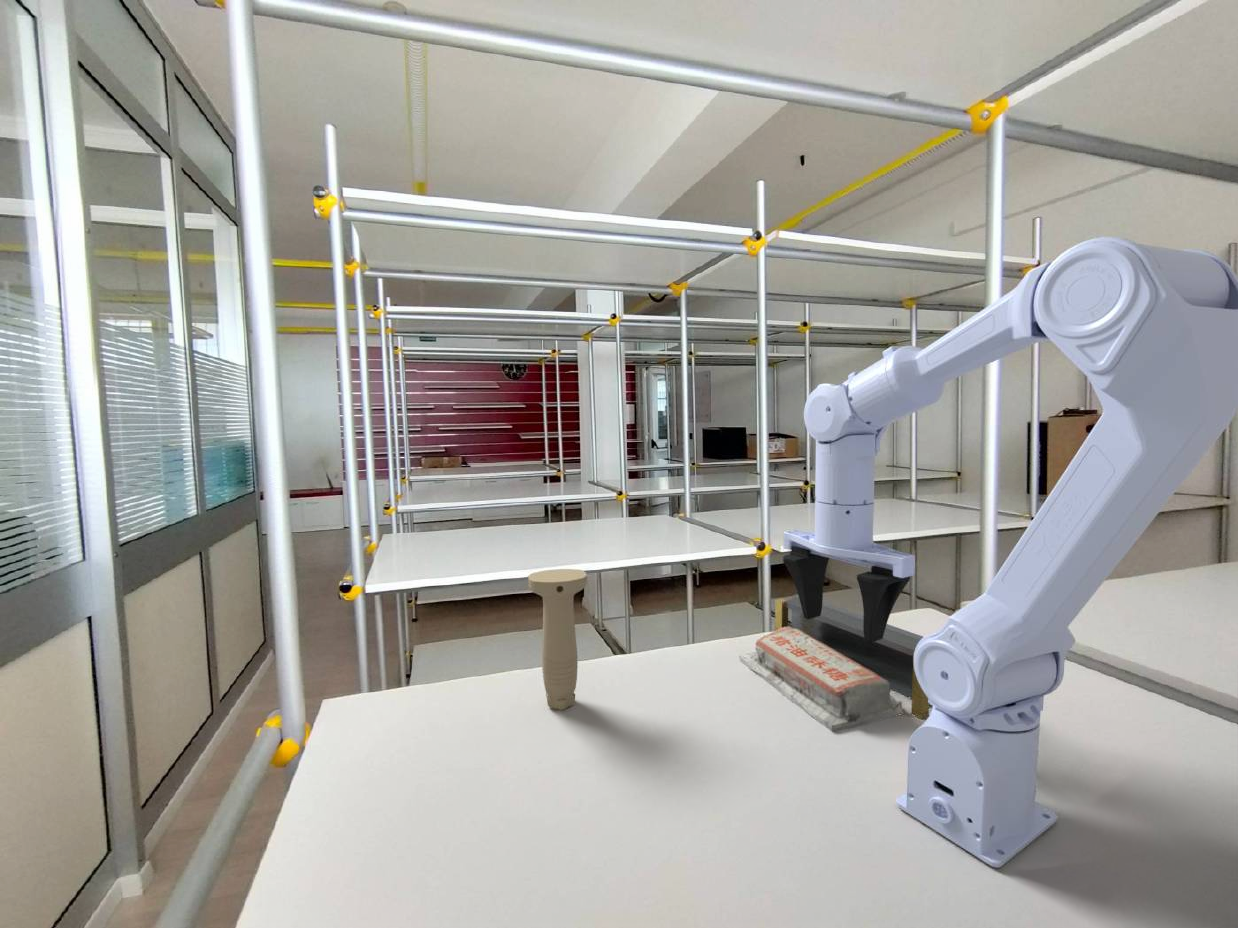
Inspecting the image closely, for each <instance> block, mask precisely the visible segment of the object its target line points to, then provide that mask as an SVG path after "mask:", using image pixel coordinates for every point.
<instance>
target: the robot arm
mask: <svg viewBox="0 0 1238 928" xmlns="http://www.w3.org/2000/svg"><path fill="white" fill-rule="evenodd" d="M1045 342H1046V343H1047V342H1052V343H1053V344H1054V345H1055V346H1056V347H1057V348H1058V349H1059V350H1060V351H1061V352H1062V353H1063V354H1064V355H1065V356H1066V357H1067V358H1068V359H1069V360H1070V361H1071V362H1072V363H1073V364H1074V365H1075V366H1076V367H1077V368H1078V369H1079V370H1080V371H1081V372H1082V373H1083V374H1084V375H1085V376H1086V377H1087V378H1088V380H1089V382H1090V383H1091V384H1090V385H1091V386H1092V388H1093V390H1094V392H1095V394H1096V396H1097V398H1098V400H1099V402H1100V405H1101V407H1102V414H1101V416H1100V417H1099V419H1098V420H1097V422H1096V423H1095V424H1094V425H1093V428H1092V429H1091V430H1090V432H1089V434H1088V435H1087V436H1086V438H1085V440H1084V441H1083V443H1082V445H1080V448H1079V449H1078V451H1077V452H1076V454H1075V455H1074V456H1073V458H1072V460H1071V461H1070V463H1068V465H1067V467H1066V469H1065V470H1064V472H1063V473H1062V475H1061V476H1060V478H1059V479H1058V481H1057V482H1056V484H1055V486H1054V487H1053V488H1052V490H1051V492H1050V493H1049V494H1048V496H1047V498H1046V499H1045V501H1044V502H1043V504H1042V505H1041V506H1040V508H1039V510H1038V511H1037V512H1036V514H1035V515H1034V517H1033V519H1032V520H1031V522H1030V523H1029V525H1028V526H1027V528H1026V530H1025V531H1024V532H1023V534H1022V536H1021V537H1020V539H1019V540H1018V542H1017V543H1016V544H1015V546H1014V548H1012V550H1011V552H1010V554H1008V555H1009V556H1008V557H1007V558H1006V560H1005V561H1004V563H1003V565H1002V566H1001V567H1000V568H999V570H998V572H997V573H996V575H995V576H994V577H993V579H992V581H991V583H990V584H989V586H988V587H987V588H986V590H985V592H983V594H981V595H980V596H978V597H977V598H975V599H974V600H973V601H971V602H969V603H967V604H966V605H964V606H963V607H961V608H960V609H959V610H957V611H956V612H954V613H953V614H951V615H950V616H949V618H948V619H947V620H946V622H945V624H943V626H942V627H941V628H940V629H939V630H937V631H936V632H932V633H929V634H927V635H924V636H923V638H922V639H921V640H920V641H919V643H918V644H917V646H916V649H915V652H914V670H915V674H916V677H917V680H918V682H919V684H920V686H921V688H922V690H923V691H924V693H925V695H926V696H927V697H928V698H929V699H928V703H929V704H931V705H932V706H933V708H932V709H931V711H930V712H929V713H930V714H929V716H928V717H927V719H926V720H925V721H924V722H923V724H921V725H920V726H919V727H918V728H917V729H916V730H915V731H913V733H912V734H911V736H910V738H909V742H908V751H907V752H908V753H907V754H908V755H907V756H908V757H907V776H906V777H907V779H906V780H907V782H906V792H905V793H904V794H902V795H901V796H899V797H897V798H896V800H895V804H896V806H897V807H898V808H899V809H901V810H903V811H904V812H905V813H907V814H909V815H910V816H911V817H913V818H915V819H916V820H917V821H919V822H921V823H923V824H924V825H925V826H927V827H929V828H931V829H932V830H933V831H935V832H937V833H939V834H940V835H942V836H943V837H945V838H946V839H948V840H950V841H951V842H953V843H954V844H956V845H957V846H959V847H961V848H962V849H963V850H965V851H967V852H968V853H970V854H971V855H973V856H975V857H976V858H978V859H979V860H981V861H982V862H984V863H985V864H988V866H991V867H994V868H1001V867H1002V866H1004V864H1006V863H1007V862H1008V861H1010V860H1011V859H1012V858H1013V857H1015V856H1016V855H1017V854H1018V853H1020V852H1021V851H1022V850H1023V849H1025V848H1026V847H1027V846H1028V845H1030V843H1032V842H1033V841H1034V840H1036V839H1037V838H1038V837H1039V836H1040V835H1042V834H1043V833H1044V832H1045V831H1047V830H1048V829H1049V828H1051V826H1053V825H1054V824H1055V823H1056V822H1058V821H1057V820H1058V816H1057V814H1056V813H1055V812H1053V811H1052V810H1050V809H1048V808H1045V807H1044V806H1042V805H1040V804H1038V803H1036V794H1037V793H1036V792H1037V791H1036V790H1037V775H1038V758H1039V743H1040V729H1041V728H1040V727H1041V712H1042V711H1043V710H1044V699H1045V698H1044V697H1045V696H1046V695H1049V694H1052V693H1053V692H1054V691H1056V690H1057V689H1058V688H1059V686H1060V685H1061V683H1062V682H1063V679H1064V675H1065V663H1066V657H1067V655H1068V653H1069V651H1070V649H1071V648H1072V647H1073V646H1074V645H1075V643H1076V641H1077V640H1076V638H1075V636H1074V634H1073V632H1071V630H1070V628H1069V626H1070V625H1071V624H1072V622H1073V621H1074V620H1075V618H1076V617H1077V616H1078V615H1079V614H1080V613H1081V611H1082V609H1084V607H1085V606H1086V604H1088V602H1089V601H1090V599H1091V598H1093V596H1094V595H1095V593H1096V592H1097V591H1098V590H1099V588H1100V587H1101V586H1102V584H1103V583H1104V582H1105V581H1106V579H1108V577H1109V576H1110V574H1111V573H1112V572H1113V571H1114V569H1115V568H1116V567H1117V566H1118V565H1119V563H1120V562H1121V560H1123V558H1124V557H1125V556H1126V554H1127V553H1128V552H1129V550H1131V548H1132V547H1133V546H1134V545H1135V543H1136V542H1137V540H1139V538H1140V537H1141V536H1142V535H1143V533H1144V532H1145V531H1146V529H1147V528H1148V526H1149V525H1151V523H1152V522H1153V521H1154V519H1155V518H1156V517H1157V516H1158V514H1159V513H1160V511H1162V509H1163V508H1164V507H1165V505H1166V504H1167V503H1168V501H1169V500H1170V499H1171V498H1172V497H1173V495H1174V494H1175V493H1176V491H1177V490H1178V489H1179V488H1180V486H1181V485H1182V484H1183V483H1184V481H1185V480H1186V479H1187V478H1188V477H1189V475H1190V474H1191V473H1192V471H1193V470H1194V469H1195V467H1196V466H1197V465H1199V463H1200V461H1201V460H1202V459H1203V458H1204V456H1205V455H1206V453H1208V451H1209V450H1210V449H1211V447H1213V445H1214V443H1215V442H1216V441H1217V440H1218V439H1219V438H1220V436H1221V435H1222V433H1223V432H1224V431H1225V430H1226V429H1227V427H1228V426H1229V425H1230V423H1232V420H1233V418H1234V416H1235V414H1236V413H1237V410H1238V276H1237V274H1236V272H1235V271H1234V270H1233V268H1232V266H1231V265H1230V264H1229V263H1228V262H1227V261H1225V260H1224V258H1222V257H1220V256H1218V255H1217V254H1215V253H1212V252H1209V251H1205V250H1200V249H1188V248H1187V249H1185V248H1183V249H1182V248H1181V249H1174V248H1169V247H1162V246H1155V245H1148V244H1143V243H1142V244H1141V243H1138V242H1135V241H1132V240H1130V239H1128V238H1122V237H1117V236H1102V237H1096V238H1092V239H1088V240H1084V241H1082V242H1080V243H1077V244H1075V245H1073V246H1072V247H1070V248H1067V249H1066V250H1065V251H1063V252H1062V253H1060V255H1058V256H1057V257H1056V259H1054V260H1053V261H1048V262H1045V263H1042V264H1040V265H1038V266H1036V267H1034V268H1032V269H1030V270H1029V271H1027V273H1026V274H1025V275H1024V277H1023V278H1022V279H1021V280H1020V282H1019V283H1018V284H1017V285H1016V287H1014V288H1013V289H1012V290H1011V291H1009V292H1008V293H1006V294H1004V295H1003V296H1001V297H1000V298H998V299H997V300H995V301H994V302H993V303H991V304H990V305H988V306H986V307H984V308H983V309H982V310H981V311H979V312H978V313H976V314H974V315H973V316H971V317H970V318H968V319H967V320H966V321H964V322H962V323H961V324H959V325H958V326H956V327H955V328H953V329H952V330H950V331H949V332H947V333H946V334H944V335H943V336H941V337H940V338H939V339H936V340H935V341H934V342H932V343H931V344H929V345H928V346H925V348H921V347H919V346H914V345H904V346H903V345H902V346H901V345H900V346H896V345H892V346H890V347H888V348H887V349H885V350H883V351H882V356H883V358H880V359H879V360H878V361H876V362H874V363H873V364H871V365H869V366H868V367H867V368H865V369H863V370H860V371H853V372H851V373H850V374H848V376H847V380H845V381H843V382H842V383H841V384H839V385H836V384H834V383H821V384H818V385H817V387H816V388H815V389H813V390H812V392H810V394H809V396H808V397H807V399H806V401H805V405H804V409H803V420H804V421H803V422H804V426H805V428H806V431H807V432H808V434H809V435H810V437H811V438H813V439H814V440H815V471H814V472H815V475H814V476H815V481H814V482H815V483H814V484H815V488H814V489H815V490H814V491H815V492H814V532H809V531H802V530H796V529H794V530H787V531H783V540H782V541H783V542H782V543H783V546H782V547H783V549H786V550H789V551H790V550H791V551H790V552H789V554H785V555H783V556H782V557H783V558H782V563H783V564H784V566H785V567H786V568H787V571H788V572H789V574H790V576H791V578H792V581H793V583H794V586H795V589H796V591H797V594H798V595H799V599H800V603H801V607H802V611H803V615H804V618H806V619H811V618H815V617H818V616H820V615H821V611H822V602H823V599H824V595H823V594H824V581H825V576H826V570H827V567H828V564H829V560H830V559H832V560H836V561H841V562H844V563H849V564H853V565H855V566H856V565H857V566H860V567H865V568H869V569H871V571H866V572H862V573H857V574H856V580H857V583H858V586H859V589H860V595H861V600H862V606H863V608H862V609H863V610H862V611H863V616H864V621H863V632H864V638H865V641H868V642H875V641H877V640H880V639H883V635H884V631H885V628H886V624H888V622H889V618H890V615H891V613H892V610H893V608H894V606H895V603H896V602H897V600H898V598H899V596H900V595H901V593H902V591H903V590H904V589H905V587H906V586H907V585H908V583H909V581H910V580H911V577H913V576H914V575H915V571H916V569H915V567H916V555H914V554H910V553H905V552H901V551H899V550H897V549H896V550H895V549H893V548H890V547H887V546H885V545H881V544H879V543H875V542H874V512H875V511H874V509H875V508H874V506H875V505H874V503H875V502H874V501H875V473H876V471H875V468H876V467H875V466H876V457H877V456H878V452H881V440H882V439H881V438H882V437H883V435H884V433H885V432H886V430H887V429H888V427H889V425H891V424H892V423H894V422H898V421H899V420H902V419H904V418H906V417H907V416H910V415H912V414H914V413H917V412H919V411H921V410H923V409H925V408H927V407H929V406H932V405H934V404H935V403H937V402H938V401H939V400H940V399H941V398H942V396H943V393H944V390H945V386H946V383H948V382H950V381H953V380H954V379H956V378H958V377H961V376H964V375H966V374H969V373H970V372H972V371H974V370H977V369H979V368H982V367H984V366H987V365H989V364H991V363H994V362H996V361H998V360H1000V359H1002V358H1003V359H1004V358H1005V357H1008V356H1010V355H1011V354H1014V353H1017V352H1019V351H1021V350H1023V349H1025V348H1028V347H1030V346H1032V345H1035V344H1038V343H1045Z"/></svg>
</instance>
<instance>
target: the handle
mask: <svg viewBox="0 0 1238 928" xmlns="http://www.w3.org/2000/svg"><path fill="white" fill-rule="evenodd" d="M527 579H528V588H529V590H530V591H531V592H533V593H534V594H536V595H538V596H540V597H542V605H543V607H542V609H543V610H542V611H543V612H542V613H543V615H542V640H541V641H542V642H541V643H542V646H541V666H542V667H541V671H542V678H543V685H544V689H545V697H546V702H547V707H549V708H550V709H556V710H559V711H564V710H565V709H566V708H569V707H572V706H574V704H575V702H576V694H575V691H576V687H577V682H578V681H577V680H578V669H579V668H578V667H579V666H578V664H579V663H578V661H579V660H578V647H577V635H576V624H575V623H576V622H575V610H574V609H575V608H574V600H575V599H574V597H575V595H576V594H577V593H579V592H581V591H582V590H583V589H585V587H587V581H588V580H587V572H586V571H584V570H582V569H573V568H559V569H548V570H547V569H546V570H541V571H540V570H539V571H537V572H532V573H530V574H529V575H528V578H527Z"/></svg>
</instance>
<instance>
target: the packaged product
mask: <svg viewBox="0 0 1238 928" xmlns="http://www.w3.org/2000/svg"><path fill="white" fill-rule="evenodd" d="M738 657H739V662H741V663H742V664H743V665H744V666H745V667H747V669H749V670H751V671H753V672H754V673H756V674H757V675H758V676H759V677H760V678H761V679H763V680H764V681H765V682H766V683H768V684H769V685H770V686H771V687H773V688H774V689H775V690H777V692H779V693H780V695H782V696H784V697H785V698H786V699H787V700H788V701H790V702H792V703H793V704H794V705H796V706H797V707H799V708H800V709H802V710H803V711H804V712H805V713H807V714H808V715H810V716H811V717H812V718H814V719H815V720H816V721H817V722H818V723H820V724H821V725H822V726H823V727H825V728H826V729H828V730H829V731H830V732H836V731H842V730H844V729H845V730H846V729H849V728H855V727H858V726H863V725H867V724H870V723H873V722H877V721H881V720H887V719H890V718H894V717H897V716H896V715H898V716H900V715H899V714H902V715H903V702H902V701H900V700H896V699H895V697H893V696H892V695H890V693H891V690H892V689H890V688H889V687H890V685H889V682H888V681H887V680H885V679H883V678H882V677H880V676H878V675H877V674H876V673H874V672H872V671H870V670H869V669H867V668H865V667H863V666H862V665H860V664H858V663H856V662H855V661H853V660H851V659H850V658H848V657H846V656H844V655H843V654H841V653H839V652H837V651H836V650H834V649H832V648H830V647H828V646H827V645H825V644H823V643H822V642H820V641H818V640H816V639H814V638H813V637H811V636H809V635H807V634H806V633H804V632H803V631H801V630H799V629H797V628H791V627H790V626H788V627H784V628H783V627H782V628H780V629H778V630H777V631H775V630H774V631H773V632H771V633H769V634H766V635H763V636H762V637H760V638H759V639H757V640H756V641H755V652H754V651H753V652H750V653H746V655H740V654H739V656H738ZM893 716H894V717H893ZM889 717H890V718H889Z"/></svg>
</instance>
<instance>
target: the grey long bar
mask: <svg viewBox="0 0 1238 928" xmlns="http://www.w3.org/2000/svg"><path fill="white" fill-rule="evenodd" d="M774 603H775V604H774V605H775V607H774V608H775V610H774V612H775V613H774V620H775V621H774V631H777V630H778V629H780V628H782V627H783V628H784V627H789V609H790V610H791V627H790V628H797V629H799V630H801V631H803V632H804V633H806V634H807V635H809V636H811V637H813V638H814V639H816V640H818V641H820V642H822V643H823V644H825V645H827V646H828V647H830V648H832V649H834V650H836V651H837V652H839V653H841V654H843V655H844V656H846V657H848V658H850V659H851V660H853V661H855V662H856V663H858V664H860V665H862V666H863V667H865V668H867V669H869V670H870V671H872V672H874V673H876V674H877V675H878V676H880V677H882V678H883V679H885V680H887V681H888V682H889V685H890V687H889V688H890V689H891V690H892V691H894V692H896V693H898V694H901V695H903V696H905V697H907V696H908V697H907V698H909V697H910V699H911V698H912V699H911V711H910V712H911V714H913V715H915V716H914V717H916V716H917V717H916V718H918V719H920V718H921V719H920V720H924V719H926V718H928V717H929V716H930V714H929V713H930V708H931V707H932V708H933V706H932V705H931V704H929V703H928V699H929V698H928V697H927V696H926V695H925V693H924V691H923V690H922V688H921V686H920V684H919V682H918V680H917V677H916V674H915V670H914V652H915V649H916V646H917V644H918V643H919V641H920V640H921V639H922V638H923V637H924V636H923V635H920V634H916V633H914V632H911V631H909V630H906V629H902V628H900V627H896V626H893V625H891V624H888V623H887V624H886V628H885V631H884V635H883V639H880V640H877V641H875V642H868V641H865V638H864V632H863V621H864V614H863V615H862V614H859V613H857V612H853V611H850V610H848V609H846V608H841V607H839V606H837V605H833V604H831V603H828V602H825V601H822V611H821V615H820V616H818V617H815V618H811V619H806V618H804V615H803V611H802V607H801V603H800V599H799V595H798V593H797V594H794V595H791V599H788V600H787V599H784V598H779V599H775V602H774ZM913 715H912V716H913Z"/></svg>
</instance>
